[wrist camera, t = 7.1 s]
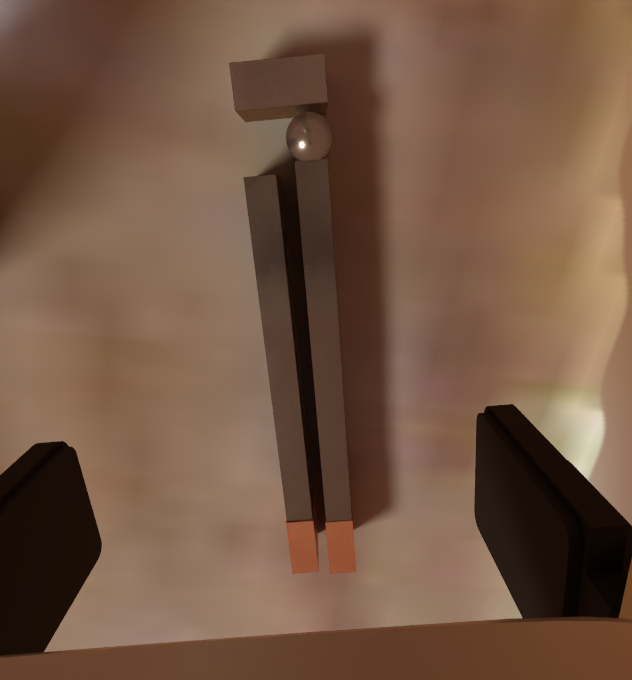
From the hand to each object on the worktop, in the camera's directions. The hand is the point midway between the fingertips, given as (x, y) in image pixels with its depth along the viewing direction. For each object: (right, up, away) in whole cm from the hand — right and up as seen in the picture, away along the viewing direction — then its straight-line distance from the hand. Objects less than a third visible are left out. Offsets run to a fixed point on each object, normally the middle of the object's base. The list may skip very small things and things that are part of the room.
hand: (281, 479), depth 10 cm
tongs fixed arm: (0, +3, +18) cm, 18 cm away
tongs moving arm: (+2, +2, +18) cm, 18 cm away
